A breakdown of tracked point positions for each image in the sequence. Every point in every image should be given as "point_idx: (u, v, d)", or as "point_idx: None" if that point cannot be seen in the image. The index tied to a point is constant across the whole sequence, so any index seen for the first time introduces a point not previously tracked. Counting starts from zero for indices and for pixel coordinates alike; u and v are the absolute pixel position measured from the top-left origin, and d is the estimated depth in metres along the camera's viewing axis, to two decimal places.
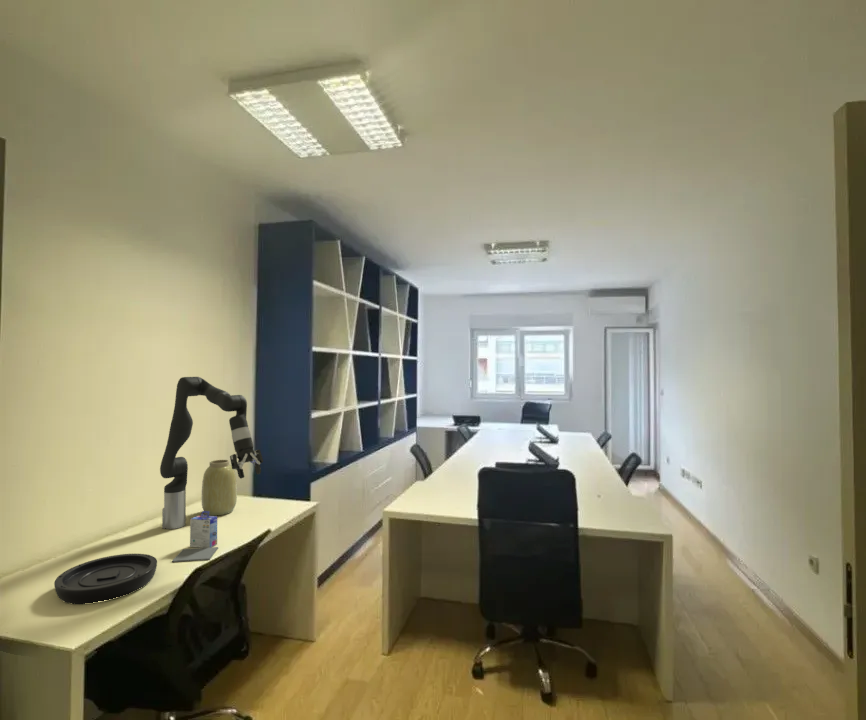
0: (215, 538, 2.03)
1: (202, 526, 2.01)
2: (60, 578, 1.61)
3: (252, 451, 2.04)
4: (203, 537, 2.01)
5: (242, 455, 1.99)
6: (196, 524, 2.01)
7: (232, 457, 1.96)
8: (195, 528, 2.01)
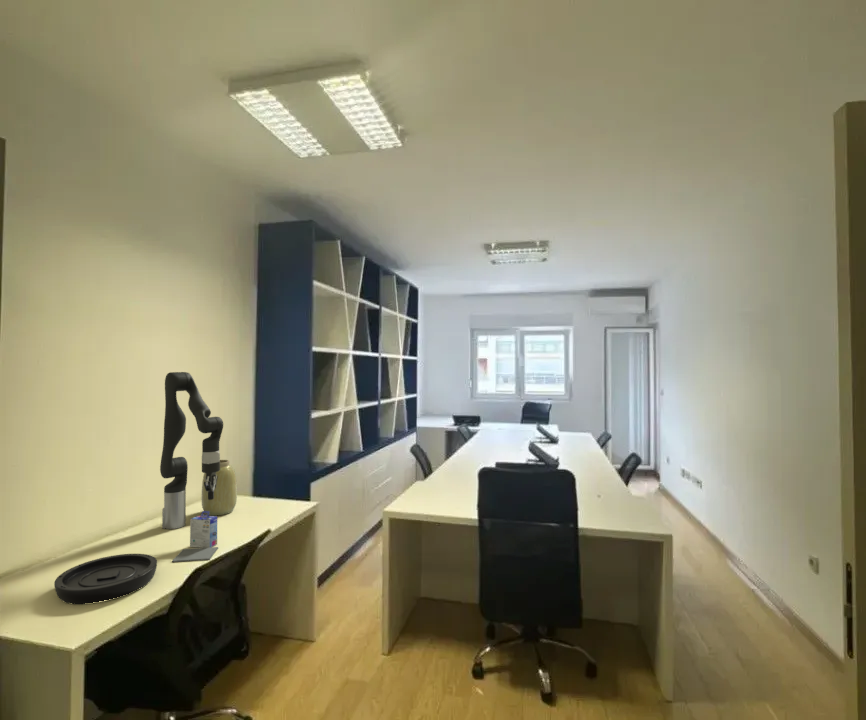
0: (215, 539, 2.03)
1: (202, 526, 2.01)
2: (60, 578, 1.61)
3: (215, 472, 2.17)
4: (203, 537, 2.01)
5: (212, 479, 2.11)
6: (196, 524, 2.01)
7: (207, 484, 2.08)
8: (195, 528, 2.01)
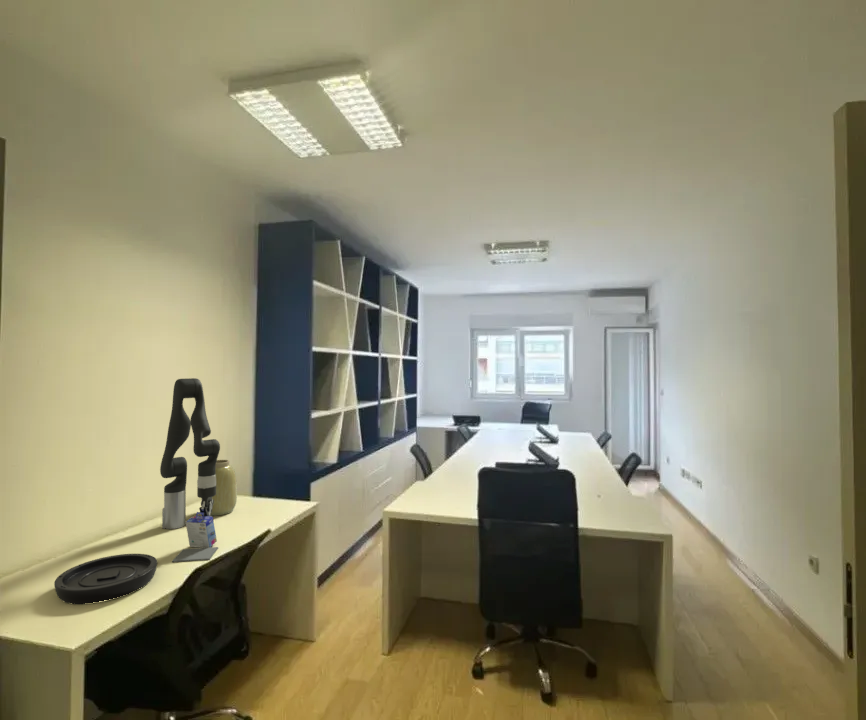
0: (213, 537, 2.03)
1: (198, 528, 1.99)
2: (60, 578, 1.61)
3: (211, 497, 2.10)
4: (202, 539, 2.00)
5: (207, 504, 2.05)
6: (192, 527, 1.99)
7: (203, 510, 2.01)
8: (192, 530, 1.99)
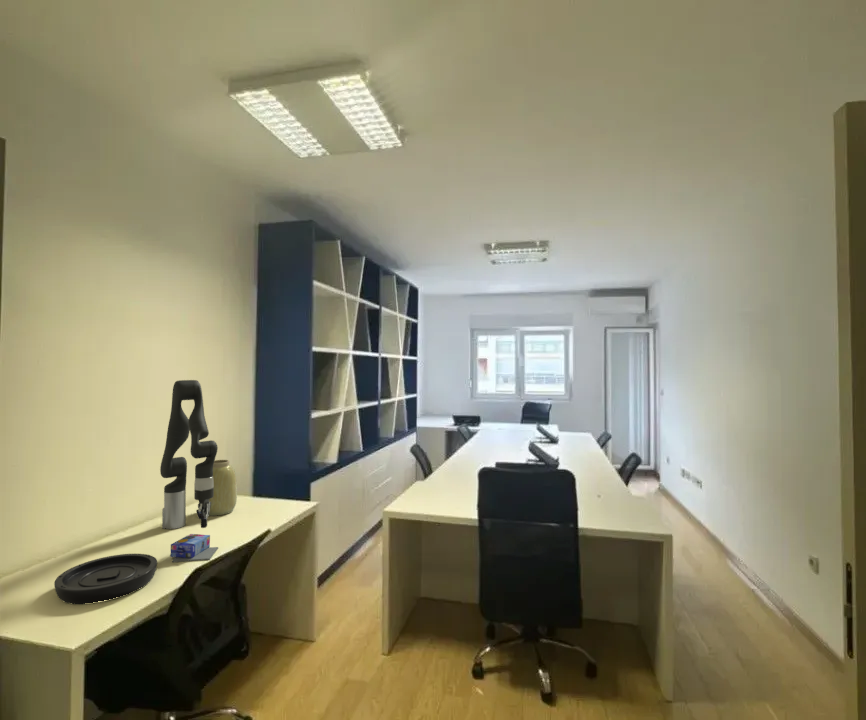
0: (206, 541, 1.97)
1: None
2: (60, 578, 1.61)
3: None
4: None
5: (205, 507, 2.01)
6: None
7: (200, 513, 1.98)
8: None
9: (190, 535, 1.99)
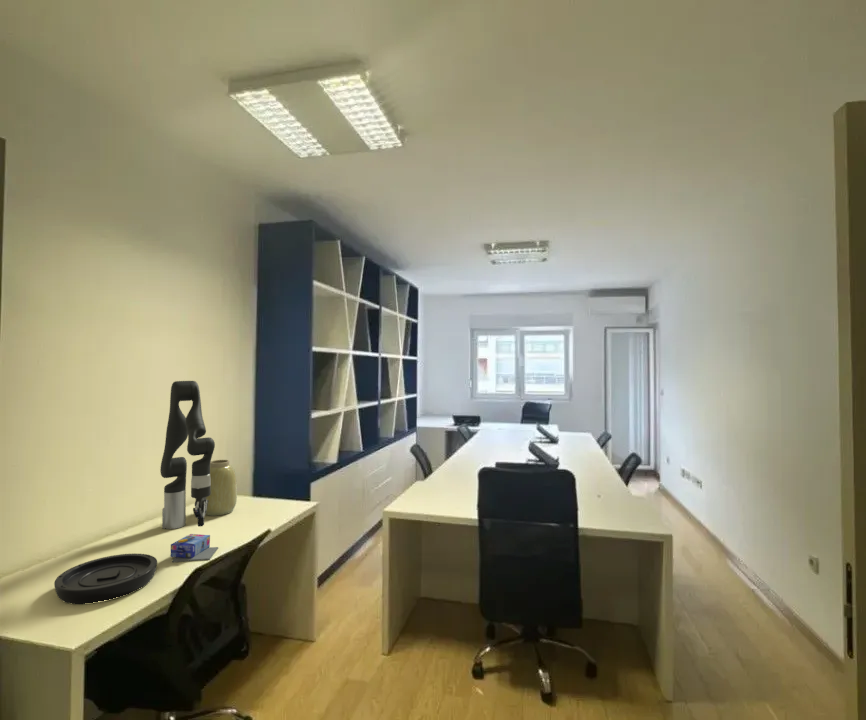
0: (206, 541, 1.97)
1: None
2: (60, 578, 1.61)
3: None
4: None
5: (201, 505, 1.97)
6: None
7: (197, 511, 1.94)
8: None
9: (190, 535, 1.99)
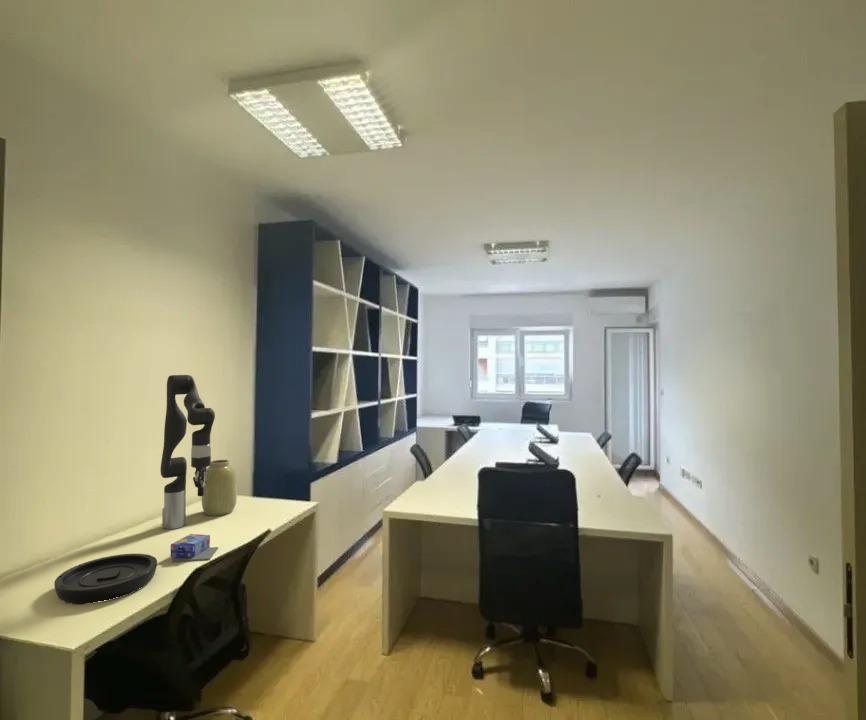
0: (206, 541, 1.97)
1: None
2: (60, 578, 1.61)
3: None
4: None
5: (202, 475, 1.97)
6: None
7: (197, 480, 1.94)
8: None
9: (190, 535, 1.99)
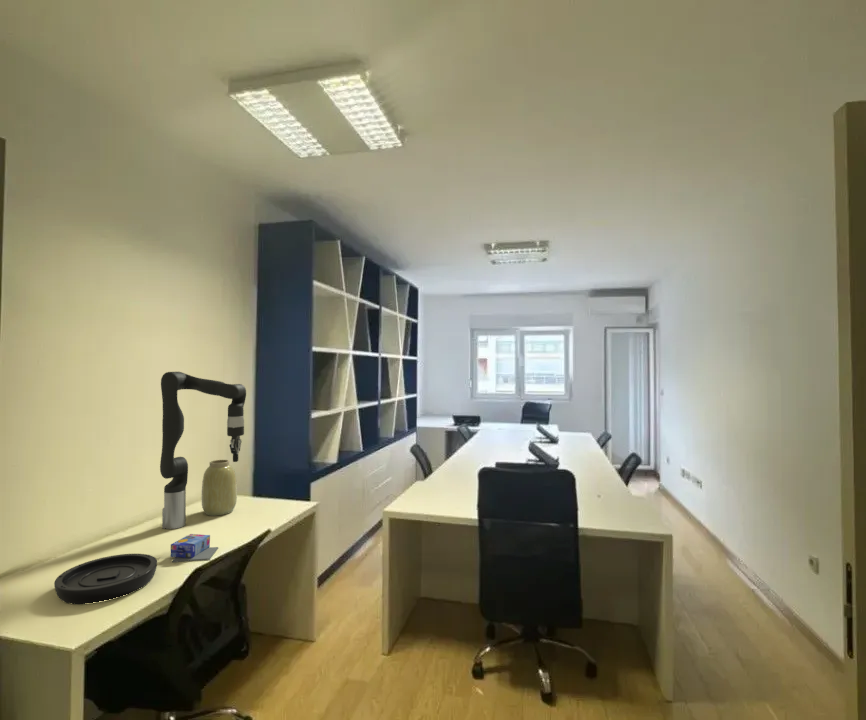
0: (206, 541, 1.97)
1: None
2: (60, 578, 1.61)
3: (239, 437, 2.29)
4: None
5: (236, 442, 2.23)
6: None
7: (233, 447, 2.20)
8: None
9: (190, 535, 1.99)
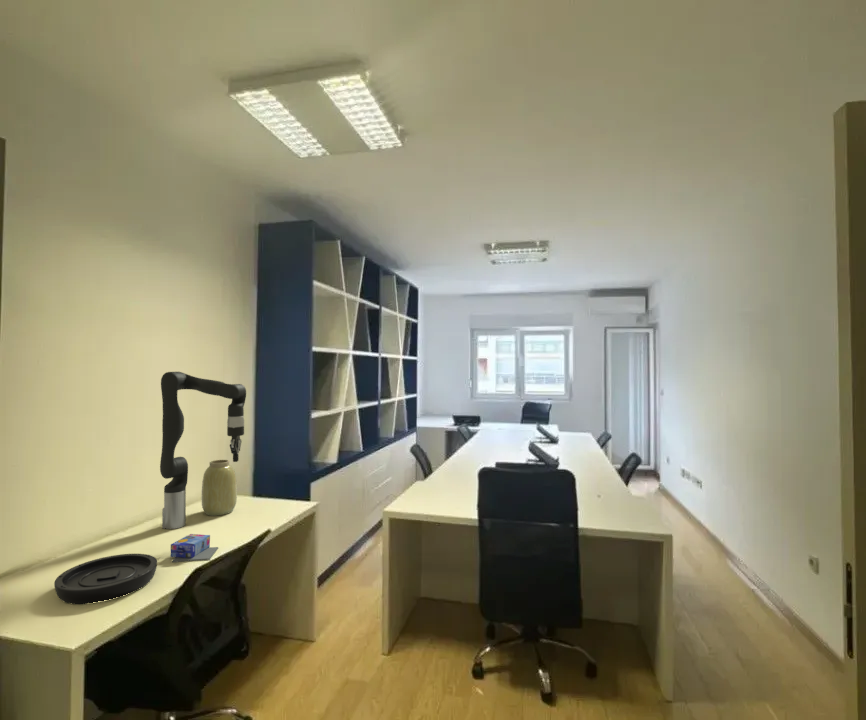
0: (206, 541, 1.97)
1: None
2: (60, 578, 1.61)
3: (239, 437, 2.29)
4: None
5: (236, 442, 2.23)
6: None
7: (233, 447, 2.20)
8: None
9: (190, 535, 1.99)
